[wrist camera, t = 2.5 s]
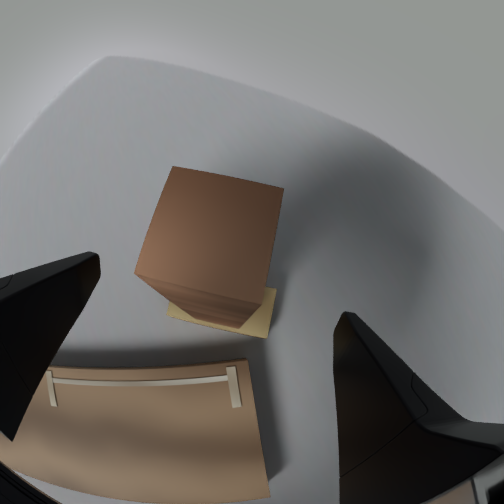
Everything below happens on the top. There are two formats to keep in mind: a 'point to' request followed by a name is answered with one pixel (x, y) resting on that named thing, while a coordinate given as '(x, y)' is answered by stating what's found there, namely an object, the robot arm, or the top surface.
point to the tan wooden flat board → (144, 433)
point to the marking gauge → (213, 250)
